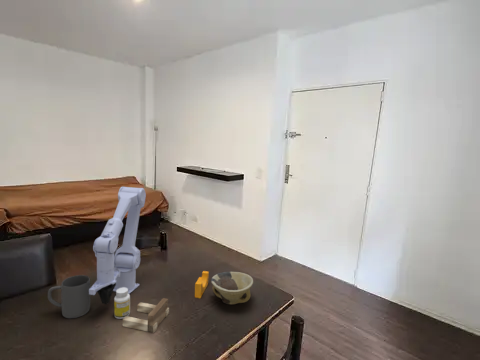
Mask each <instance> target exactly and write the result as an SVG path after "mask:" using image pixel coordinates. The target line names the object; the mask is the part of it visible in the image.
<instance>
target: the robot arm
mask: <svg viewBox="0 0 480 360" xmlns="http://www.w3.org/2000/svg"><path fill="white" fill-rule="evenodd" d="M146 196H147V194H146V190H145V188H144V187H131V186H130V187H129V186H121V187H120V188H119V190H118V193H117V201H118V203H117V206H116V207H115V208H116V209H115V211H114V214H113V215H112V216H113V217H112V218H109V219H108V220H107V222H106V224H105V226H104V228H103V230H102V232H101V234H100V236H98V237H97V238H96V239H95V240H94V242H93V246H92V250H93V252H94V255H95V256H94V257H95V258H96V280H95V281H94V283H93V284H92V286H90V289H89V294H90V296H95V295H96V293H98V295H99V297H100V300H101V303H102V304H104V305H108V304H109V303H110V300H111V298H112V297H111V296H112V294H113V292H116V290H117V289H119V288H122V287H125V288H127V289H128V294H129V295H130V294H131V293H132V292H133V291H135V290H136V289H137V288H138V287H140V283H138V282H137V283H136V276H137V275H136V270H137V269H138V268H139V267H140V264H141V250H140V249H139V248H138V247H136V241H137V240H136V239H137V233H138V228H139V220H140V214H141V210H142V208H144V207H145V203H146ZM126 214H127V216H126ZM125 216H126V217H127V218H126V224H125V228H124V235H123V240H122V245H121V246H120V247H118V245H119V244H118V243H119V240H120V238H119V236H120V234H121V232H122V229H123V227H124V223H123V220H124V218H125Z"/></svg>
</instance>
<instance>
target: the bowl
mask: <svg viewBox="0 0 480 360" xmlns="http://www.w3.org/2000/svg"><path fill="white" fill-rule="evenodd" d="M210 282H211V286H212V287H211V288H212V292H213V293H214V295H215V296H216V297H217V298H219V299H221V301H222V303H224V304H226V305H236V304H242V303H247V302H248V301H249V300H250V299H251V296H252V295H251V290H250V289H251V288H252V287H253V284H254V278H253V277H252V276H251V275H249V274H247V273H244V272H239V271H224V272H223V271H222V272H220V273H216V274H215V275H213V276H212V277H211V278H210ZM245 294H246V295H245ZM244 295H245V297H243V296H244Z"/></svg>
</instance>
